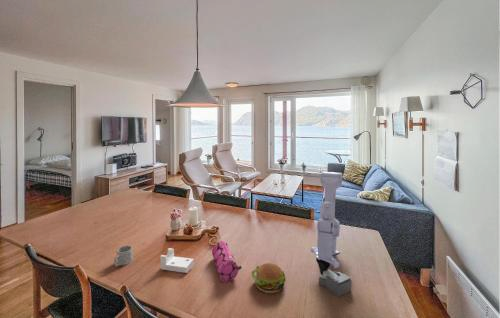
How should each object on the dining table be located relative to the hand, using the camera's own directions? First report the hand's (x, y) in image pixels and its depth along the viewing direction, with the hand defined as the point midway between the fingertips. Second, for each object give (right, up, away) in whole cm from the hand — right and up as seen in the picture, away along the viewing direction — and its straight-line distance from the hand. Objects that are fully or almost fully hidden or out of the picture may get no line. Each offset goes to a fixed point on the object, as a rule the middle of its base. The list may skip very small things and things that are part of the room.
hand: (323, 274), depth 103 cm
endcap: (+3, -2, -6) cm, 8 cm away
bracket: (-67, -1, +8) cm, 67 cm away
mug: (-95, -1, +11) cm, 95 cm away
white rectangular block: (+3, -2, -5) cm, 6 cm away
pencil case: (-44, -1, +7) cm, 45 cm away
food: (-25, -3, -4) cm, 25 cm away
